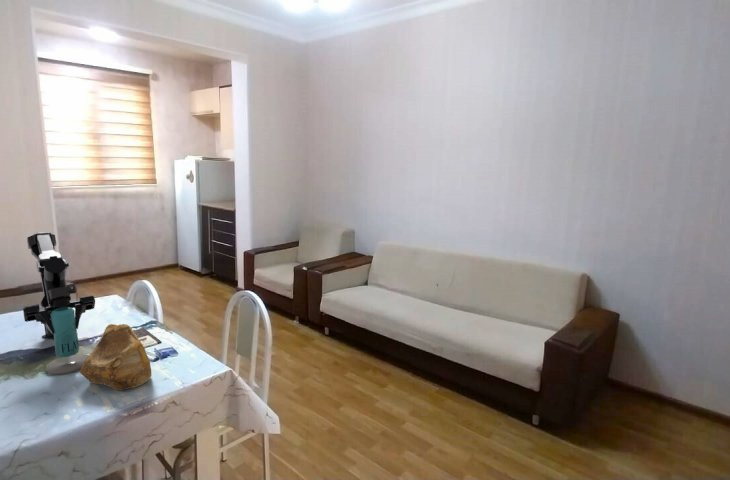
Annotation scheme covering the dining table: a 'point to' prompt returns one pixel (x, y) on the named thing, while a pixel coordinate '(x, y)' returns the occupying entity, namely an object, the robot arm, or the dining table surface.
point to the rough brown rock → (118, 360)
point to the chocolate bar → (146, 337)
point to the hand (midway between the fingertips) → (65, 330)
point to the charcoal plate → (66, 364)
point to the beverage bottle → (64, 328)
